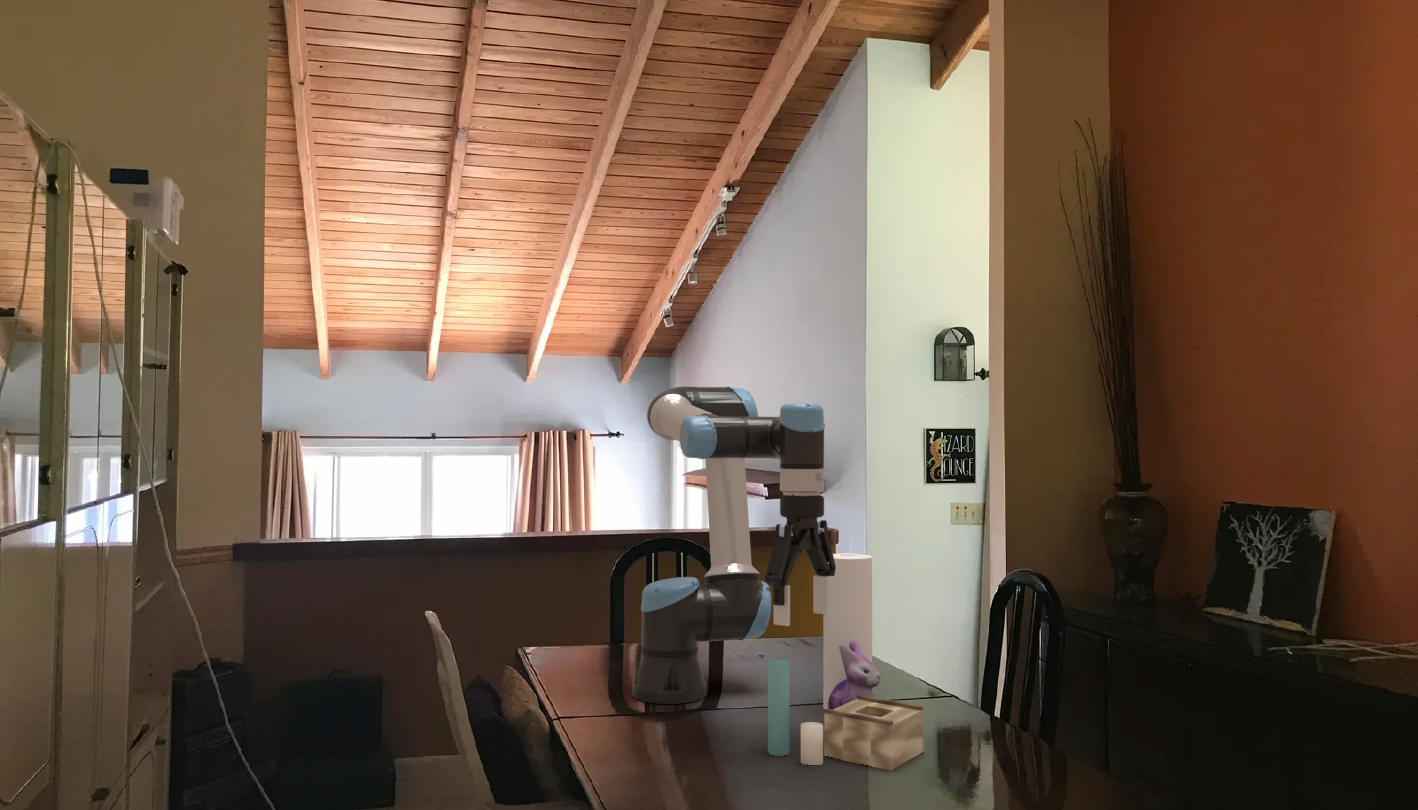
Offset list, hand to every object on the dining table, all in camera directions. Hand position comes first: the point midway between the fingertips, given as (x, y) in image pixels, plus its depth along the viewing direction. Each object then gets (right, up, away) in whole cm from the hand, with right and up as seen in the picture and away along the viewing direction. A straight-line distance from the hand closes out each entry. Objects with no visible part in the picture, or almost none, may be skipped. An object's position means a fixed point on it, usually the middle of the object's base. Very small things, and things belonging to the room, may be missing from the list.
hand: (802, 619), depth 167 cm
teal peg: (-4, -21, -3) cm, 22 cm away
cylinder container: (+11, -23, +24) cm, 35 cm away
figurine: (+11, -22, +14) cm, 29 cm away
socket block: (+12, -22, -4) cm, 25 cm away
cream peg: (+1, -21, -8) cm, 23 cm away
